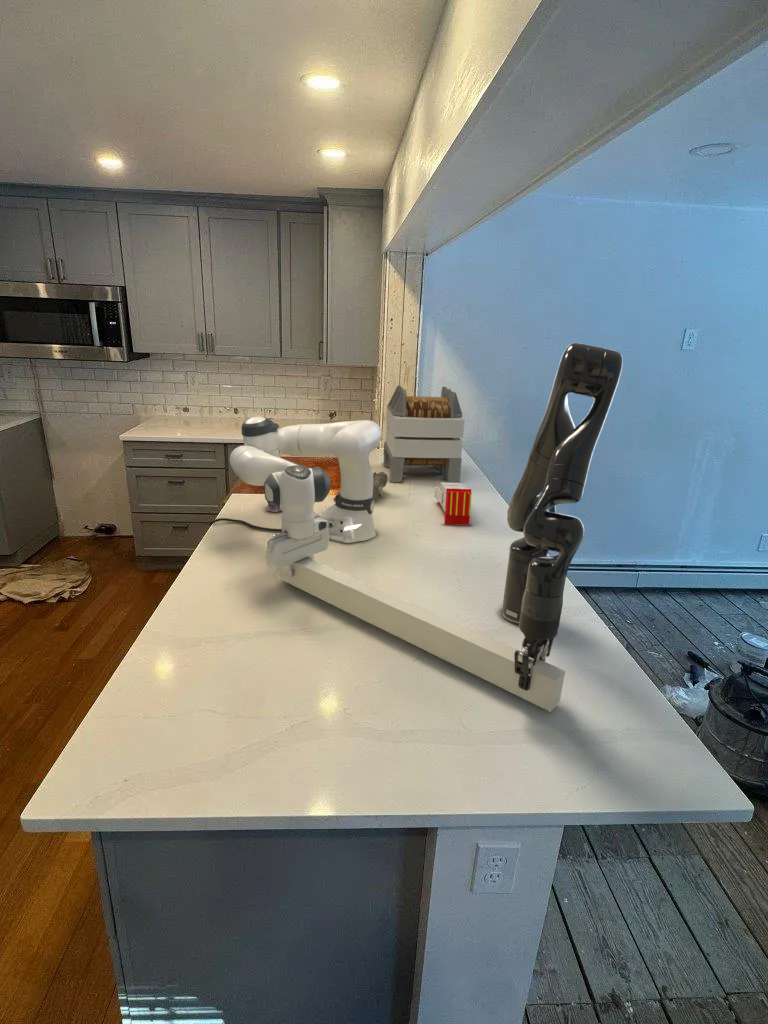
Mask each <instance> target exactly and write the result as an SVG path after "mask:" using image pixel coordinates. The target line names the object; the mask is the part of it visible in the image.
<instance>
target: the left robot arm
mask: <svg viewBox="0 0 768 1024" xmlns="http://www.w3.org/2000/svg"><path fill="white" fill-rule="evenodd" d="M241 435H242V440H243V445H239V446H236V447H235V448H234V449H233V450H232V451H231V453H230V455H229V465H230V468H231V469H232V471H233V472H234V474H235V475H236V476H237V477H238V478H239V479H240V480H241V481H242V482H244V483H245V484H247V485H250V486H254V487H263V493H264V498H265V501H266V502H269V503H270V504H271V505H273V506H275V507H277V508H282V511H281V528H270V527H265V526H260V525H259V526H258V525H254V524H251V523H249V522H247V521H245V520H241V519H236V518H235V519H233V518H228V517H227V518H226V517H222V518H221V517H220V518H216V519H214V520H212V521H210V522H209V523H208V525H209V526H211V525H214V524H216V523H217V522H233V523H240V524H243V525H245V526H247V527H249V528H252V529H256V530H261V531H267V532H279V533H274V534H272V535H271V537H270V538H269V539H268V540H267V545H266V546H267V547H266V554H265V564H266V565H267V566H268V567H269V568H271V569H273V570H278V569H279V568H281V567H284V568H285V569H286V570H287V576H288V577H293V576H295V574H294V573H295V570H292V569H291V568H290V567H291V566H292V563H294V562H296V561H299V560H301V559H304V558H306V557H307V558H309V559H312V560H314V557H315V555H317V554H318V553H321V552H324V551H326V550H327V549H328V548H329V546H330V541H336V542H339V543H343V544H352V543H357V542H365V541H368V540H372V539H373V538H375V537H376V535H377V532H376V528H375V523H374V513H373V512H374V509H375V497H374V496H373V473H374V472H373V471H372V468H371V465H370V464H371V463H370V453H371V452H372V451H374V450H376V449H377V448H378V446H379V445H380V443H381V441H382V439H383V431H382V428H381V427H380V425H379V424H378V423H377V422H375V421H374V420H367V419H361V420H360V419H359V420H348V421H346V420H345V421H336V422H330V423H300V424H299V423H298V424H291V425H287V426H283V427H280V425H279V424H278V423H276V422H274V421H273V420H271V418H268V417H266V416H253V417H251V418H248V419H245V420H244V422H242V424H241ZM281 454H282V455H287V456H291V457H303V458H305V457H307V458H308V457H309V458H310V457H311V458H312V457H313V458H315V457H316V458H319V457H320V458H321V457H322V458H323V457H324V458H325V457H328V458H329V457H331V456H335V457H336V458H337V462H338V467H339V473H340V488H339V489H340V490H339V491H338V492H337V494H336V495H335V496H334V497H333V502H334V504H333V505H331V506H329V507H328V508H326V509H325V510H323V512H321V514H320V515H315V514H316V513H315V511H314V505H315V503H322V502H324V500H325V499H326V498H327V497H328V496H329V494H330V492H331V488H332V487H331V486H332V484H331V479H330V476H329V475H328V473H327V472H326V471H325V470H324V469H323V468H321V467H320V466H313V467H308V466H305V465H304V464H300V463H297V462H295V461H292V460H288V459H285V458H282V457H281Z"/></svg>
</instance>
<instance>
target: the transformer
mask: <svg viewBox="0 0 768 1024" xmlns="http://www.w3.org/2000/svg"><path fill="white" fill-rule="evenodd" d="M440 393H441V394H440V396H415V395H414V396H413V395H412V396H411V395H407V394H408V393H407V390H406V389H404V388H403V387H402V385H399V384H398V385H397V386H396V388H395V390H394V392H393V394H392V395H391V398H390V400H389V402H388V404H387V405H386V413H385V414H386V415H385V423H386V428H385V438H384V442H383V466H384V467H388V468H389V475H388V476H389V477H388V478H389V480H390V482H391V483H402V482H403V475H404V469H405V466H406V467H407V466H411V467H412V466H413V467H415V466H416V467H417V466H418V467H436V468H437V470H438V469H439V473H440V474H441V475H443V478H444V479H445V481H446V482H447V483H461V472H462V461H463V460H462V453H463V442H464V441H463V440H462V439H463V438H464V431H465V430H464V429H465V419H464V418H463V411H462V408H461V405H460V402H459V398H458V395H457V392H455V391H453V390H452V389H451V388H447V386H442V387H441V392H440Z"/></svg>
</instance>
